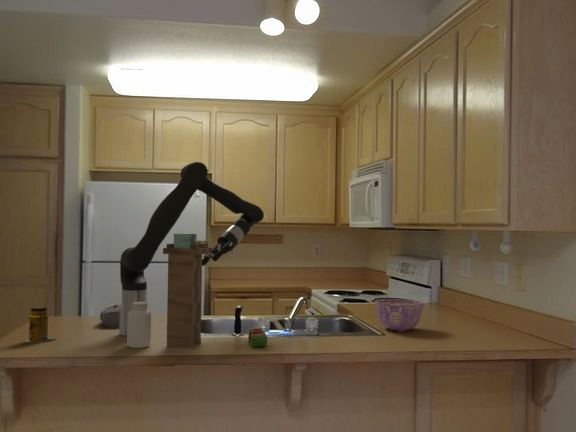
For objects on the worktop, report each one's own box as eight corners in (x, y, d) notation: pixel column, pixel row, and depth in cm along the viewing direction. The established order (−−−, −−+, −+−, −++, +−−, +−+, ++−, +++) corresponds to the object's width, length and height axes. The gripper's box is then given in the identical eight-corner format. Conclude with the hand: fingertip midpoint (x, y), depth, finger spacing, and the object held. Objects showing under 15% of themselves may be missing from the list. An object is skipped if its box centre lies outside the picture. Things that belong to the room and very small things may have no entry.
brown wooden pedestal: (176, 339, 201) (178, 242, 202) (209, 340, 199) (211, 243, 200) (161, 346, 189) (163, 243, 190) (196, 348, 186) (198, 244, 187)
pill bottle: (128, 349, 184) (129, 304, 184) (125, 344, 191) (126, 301, 191) (152, 347, 187) (153, 303, 187) (148, 342, 194) (149, 300, 195)
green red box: (246, 338, 205) (247, 325, 205) (264, 338, 206) (264, 325, 206) (249, 351, 184) (249, 336, 184) (268, 350, 185) (268, 336, 185)
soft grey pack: (136, 327, 224) (138, 319, 243) (136, 307, 224) (139, 301, 244) (97, 328, 221) (103, 320, 240) (98, 308, 221) (103, 301, 241)
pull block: (197, 246, 211) (197, 233, 211) (211, 246, 210) (211, 233, 210) (173, 248, 190) (173, 233, 190) (189, 248, 189) (190, 234, 189)
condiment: (23, 342, 193) (24, 308, 193) (42, 337, 201) (42, 305, 201) (38, 344, 190) (39, 309, 191) (57, 339, 198) (58, 306, 198)
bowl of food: (392, 335, 214) (393, 306, 214) (365, 327, 232) (365, 299, 232) (433, 332, 222) (434, 303, 222) (404, 324, 240) (404, 297, 240)
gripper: (215, 235, 229) (192, 258, 218) (235, 226, 219) (211, 250, 208) (226, 249, 231) (203, 273, 220) (246, 241, 221) (223, 265, 210)
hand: (207, 262), depth 214 cm, fingers open, 8 cm apart
